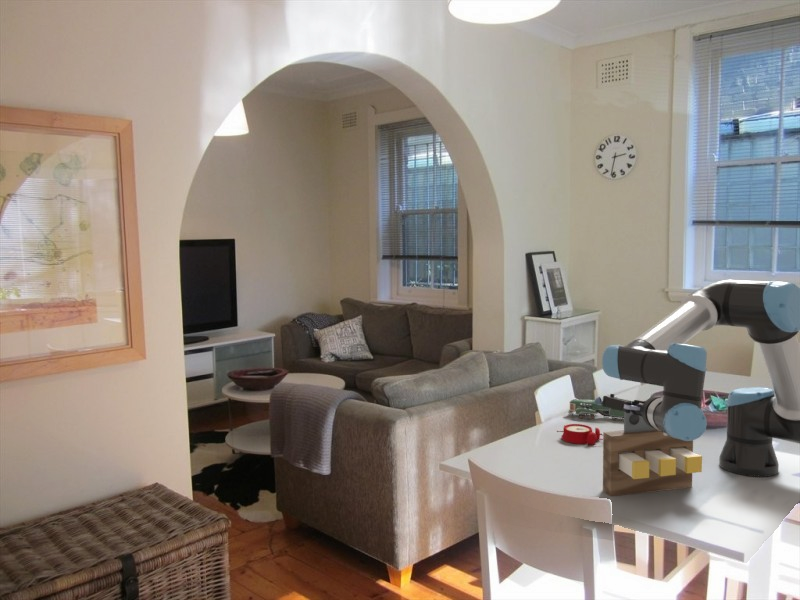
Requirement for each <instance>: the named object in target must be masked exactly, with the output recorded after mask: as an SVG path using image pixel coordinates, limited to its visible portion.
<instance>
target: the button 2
mask: <svg viewBox="0 0 800 600" xmlns="http://www.w3.org/2000/svg"><path fill="white" fill-rule="evenodd" d="M669 456H671V457H674V458H676V467H677V468H679V469H681V470H683V471H685V473H687V474H688V473H692V474H694V473H695V474H696V473H697V474H698V473H702V471H703V470H702V469H703V456H702V455H701V454H697V453H695V452H694V451H693V452H692V451H690V450H688V449H686V448H684V447H672V448H670V451H669Z"/></svg>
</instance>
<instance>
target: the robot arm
mask: <svg viewBox="0 0 800 600" xmlns="http://www.w3.org/2000/svg"><path fill="white" fill-rule="evenodd" d="M716 326H725V327H726V326H729V327H730V326H731V327H739V328H746V330H747V333H748V334H747V335H748V336H749V338H750V339H751V340H752V341H754V342H756V343H758V346H759V348H760V352H761V355H762V357H763V360H764V364H765V366H766V367H765V368H766V370H767V373H768V376H769V379H770V383H771V385H772V388H773V389H772V388H770V387H762V386H761V387H751V386H750V387H740V388H735V389H732V390H731V391H730V392H729V393H728V395H727V396H728V397H727V404H726V407H727V409H726V410H727V411H726V413H727V415H726V420H727V421H726V440H725V442H724V445H723V448H722V450H721V453H720V454H719V461H718V462H719V463H718V464H719V467H721V468H722V469H724V470H725V471H727V472H731V473H733V474H737V475H741V476H748V477H759V478H760V477H761V478H762V477H771V476H775V475H778V473H779V461H778V458H777V455H776V452H775V449H774V445H773V439H777V440H781V441H786V442H791V443H795V444H799V445H800V341H799V339H798V335H799V333H800V287H799V286H798V285H796V284H795V283H793V282H786V281H780V280H771V281H770V280H749V279H748V280H745V279H725V280H720V281H719V280H718V281H715V282H713V283H710V284H706V285H705V286H703V287H701V288H698V289H697V290H694V291H693V292H691V293H690V294H688V295H687V296H685V297H684V298H683V299H682V300H681V301H680V305H679V306H678V307H677V308H676V309H674V310H673V311H672V312H671V313H669V314H668V315H666V316H664V318H661V320H659V321H658V322H656V323H655V324H654V325H653V326H651V327H649V328H648V329H646V331H644V332H643V333H641V334H640V335H638V336H637V337H636V338H634V339H633V340H632V341H631V342H629V343H628V344H625V345H622V344H610V345H608V346H607V347H605V350H604V352H603V353H602V358H601V365H602V370H603V372H604V374H606V375H607V376H608V377H610V378H613V379H618V380H620V381H623V380H624V381H627V382H628V381H629V382H635V383H640V384H648V385H652V386H659V387H663V391H662V395H654V396H651V397H649V398H648V399H646V400H644V401H643V400H640V399H639V400H638V399H634V400H633V401H632V400H628V399H624V398H619V397H617V396H616V395H615V394H614V393H610V394H607V395H604V396H603V397H602V401H603V402H602V406H603V407H608V408H612V409H616V410H620V411H624V412H626V413H630V412H632V413H633V414H634V415H639V416H642V417H643V419H644V421H645V423H646V424H647V425H649V426H650V427H652V428H654V429H656V430H659V431H662V432H663V435H664V436H667V435H670V436H671V437H673V438H677V439H681V440H684V441H691V440H693V441H695V440H697V439H699V438H701V437H702V435H703V434H704V433H705V432H706V429H707V426H708V423H707V422H708V420H707V417H706V415H705V413H704V411H703V410H702V404H703V401H702V400H703V393H704V386H705V377H706V372H707V359H708V358H707V356H708V352H707V349H706V348H704V347H703V346H698V345H691V344H686V343H687V342H688V341H690V340H691V339H692V338H693V337H695V336H696V335H697V334H698V333H700V332H702V331H707V330H709V329H710V330H711V328H713V327H716Z"/></svg>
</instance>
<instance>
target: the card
mask: <svg viewBox="0 0 800 600" xmlns="http://www.w3.org/2000/svg"><path fill="white" fill-rule="evenodd" d="M623 419H624V420H623V430H624V433H631V432H642V431H653V430H656V429H654V428H652V427H650V426H649V425H647V424H646V423H645V421H644V419H643V417H642V416H639V415H634V414H633V413H632V412H630V413H626V412H624V418H623Z"/></svg>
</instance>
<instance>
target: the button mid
mask: <svg viewBox="0 0 800 600" xmlns="http://www.w3.org/2000/svg"><path fill="white" fill-rule="evenodd" d="M644 459H645V460H648V461H649V469H650V470H652V471H654V472H655V473H657V474H659V476H669V475H676V458H674V457H671V456H669V455H667V454H665V453H663V452H661V451H659V450H657V449H651V450H644Z"/></svg>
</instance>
